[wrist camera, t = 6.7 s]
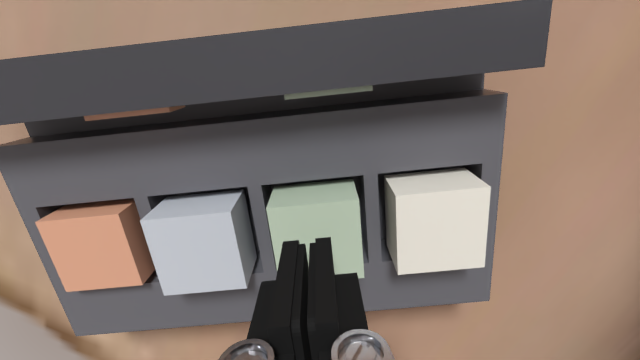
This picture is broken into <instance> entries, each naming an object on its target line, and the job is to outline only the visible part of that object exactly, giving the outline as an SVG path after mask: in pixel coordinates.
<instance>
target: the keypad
mask: <svg viewBox="0 0 640 360" xmlns="http://www.w3.org/2000/svg"><path fill="white" fill-rule="evenodd" d="M551 8H552V0H521V1H512V2H503V3H495V4H486V5H477V6H468V7H460V8H451V9H442V10H433V11H424V12H416V13H407V14H398V15H389V16H381V17H372V18H363V19H354V20H345V21H337V22H328V23H319V24H310V25H301V26H293V27H284V28H275V29H266V30H258V31H249V32H240V33H231V34H222V35H214V36H205V37H196V38H187V39H179V40H170V41H161V42H152V43H143V44H135V45H126V46H117V47H108V48H99V49H91V50H82V51H73V52H64V53H56V54H47V55H38V56H29V57H20V58H12V59H3V60H0V125H6V124H15V123H25V126H26V128H27V131H28V133H29V136H30V137H28V138H24V139H21V140H17V141H13V142H9V143H5V144H1V145H0V171H1V173H2V176H3V178H4V180H5V182H6V184H7V187H8V189H9V191H10V193H11V195H12V197H13V200H14V202H15V204H16V206H17V208H18V211H19V213H20V215H21V217H22V219H23V221H24V224H25V226H26V228H27V230H28V232H29V234H30V237H31V239H32V241H33V243H34V245H35V248H36V250H37V252H38V254H39V256H40V258H41V261H42V263H43V265H44V267H45V269H46V272H47V274H48V276H49V278H50V280H51V282H52V285H53V287H54V289H55V291H56V293H57V296H58V298H59V300H60V302H61V304H62V306H63V309H64V311H65V313H66V315H67V317H68V320H69V322H70V324H71V326H72V328H73V330H74V333H75V335H76V336H84V335H96V334H107V333H119V332H131V331H142V330H154V329H166V328H177V327H189V326H201V325H212V324H224V323H236V322H247V321H251V320H252V316H253V312H254V308H255V304H256V300H257V296H258V292H259V288H260V285H261V282H262V281H271V280H276V276H277V268H276V262H275V256H274V251H273V245H272V239H271V233H270V228H269V222H268V216H267V211H266V207H267V205H268V202H269V199H270V196H271V194H272V191H273V188H274V186H283V185H293V184H303V183H313V182H323V181H333V180H344V179H353V181H354V184H355V187H356V191H357V194H358V198H359V206H360V220H361V235H362V249H363V264H364V278H358V280H359V285H360V290H361V295H362V300H363V305H364V310H365V311H376V310H387V309H399V308H411V307H422V306H434V305H445V304H457V303H469V302H480V301H489V299H490V288H491V276H492V265H493V254H494V243H495V231H496V220H497V209H498V197H499V186H500V175H501V164H502V152H503V141H504V130H505V118H506V107H507V96H508V93H505V92H499V91H492V90H486V89H483V88H484V73H490V72H499V71H509V70H518V69H527V68H536V67H544V66H545V57H546V49H547V41H548V33H549V25H550V16H551ZM455 168H466V169H467V170H468V171H470V172H471V173H473V174H474V175H475V176H477V177H478V178H479V179H481V180H482V181H484V182H485V183H486V184H488V185H489V186H491V193H490V206H489V218H488V231H487V243H486V256H485V267H482V268H470V269H459V270H448V271H437V272H426V273H414V274H403V275H398V274H397V271H396V269H395V266H394V263H393V261H392V258H391V255H390V253H389V250H388V247H387V242H386V217H385V191H384V175H394V174H404V173H415V172H425V171H435V170H445V169H455ZM242 189H244V193H245V198H246V203H247V208H248V213H249V219H250V224H251V229H252V234H253V239H254V244H255V249H256V254H257V258H256V262H255V265H254V268H253V271H252V274H251V277H250V280H249V284H248V287H247V288H246V289H234V290H223V291H212V292H201V293H190V294H178V295H167V296H164V294H163V291H162V288H161V285H160V282H159V279H158V276H157V272H156V269H155V270H154V272H153V273H152V274H151V275H150V277H149V278H148V279H147V280H146V282H145V283H144V284H143V285H139V286H128V287H117V288H106V289H95V290H84V291H72V292H66V291H65V288H64V286H63V284H62V282H61V279H60V277H59V275H58V273H57V270H56V268H55V266H54V264H53V261H52V259H51V257H50V255H49V252H48V250H47V248H46V246H45V244H44V241H43V239H42V237H41V235H40V232H39V230H38V228H37V226H36V223H35V222H36V221H38V220H40V219H41V218H43V217H45V216H47V215H49V214H50V213H52V212H54V211H56V210H57V209H59V208H61V207H63V206H65V205H66V204H77V203H87V202H97V201H107V200H117V199H127V198H134V201H135V204H136V207H137V210H138V213H139V216H140V219H142V218H143V217H145V216H146V215H147V214H148V213H149V212H150V211H151V210H152V209H154V208H155V207H156V206H157V205H158V204H159V203H160V202H161V201H163V200H164V199H165V198H166V197H171V196H181V195H191V194H202V193H212V192H222V191H232V190H242Z"/></svg>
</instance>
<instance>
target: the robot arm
mask: <svg viewBox="0 0 640 360" xmlns="http://www.w3.org/2000/svg"><path fill="white" fill-rule="evenodd" d="M219 360H395V359H394V356H393V354H392V352H391V350H390V347H389V345H388V344H387V342H386V341H385V339H384V338H382V337H381V336H380V335H379V334H377V333H375V332H373V331H370V330H368V326H367V321H366V315H365V310H364V305H363V300H362V295H361V290H360V285H359V280H358V275H357V272H356V273H346V274H335V272H334V263H333V253H332V244H331V237H324V238H315V243H310V248H309V267H308V259H307V252H306V245H305V244H300V243H299V240H294V241H284V242H283V244H282V249H281V254H280V260H279V265H278V271H277V276H276V280H271V281H262V282H261V285H260V288H259V292H258V296H257V300H256V304H255V308H254V312H253V316H252V320H251V324H250V328H249V332H248V336H247V339H246V340H243V341H240V342H237V343H235V344H234V345H232V346H230V347H229V348H228V349H227V350H226V351H225V352H224V353H223V354H222V355H221V357H220V358H219Z"/></svg>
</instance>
